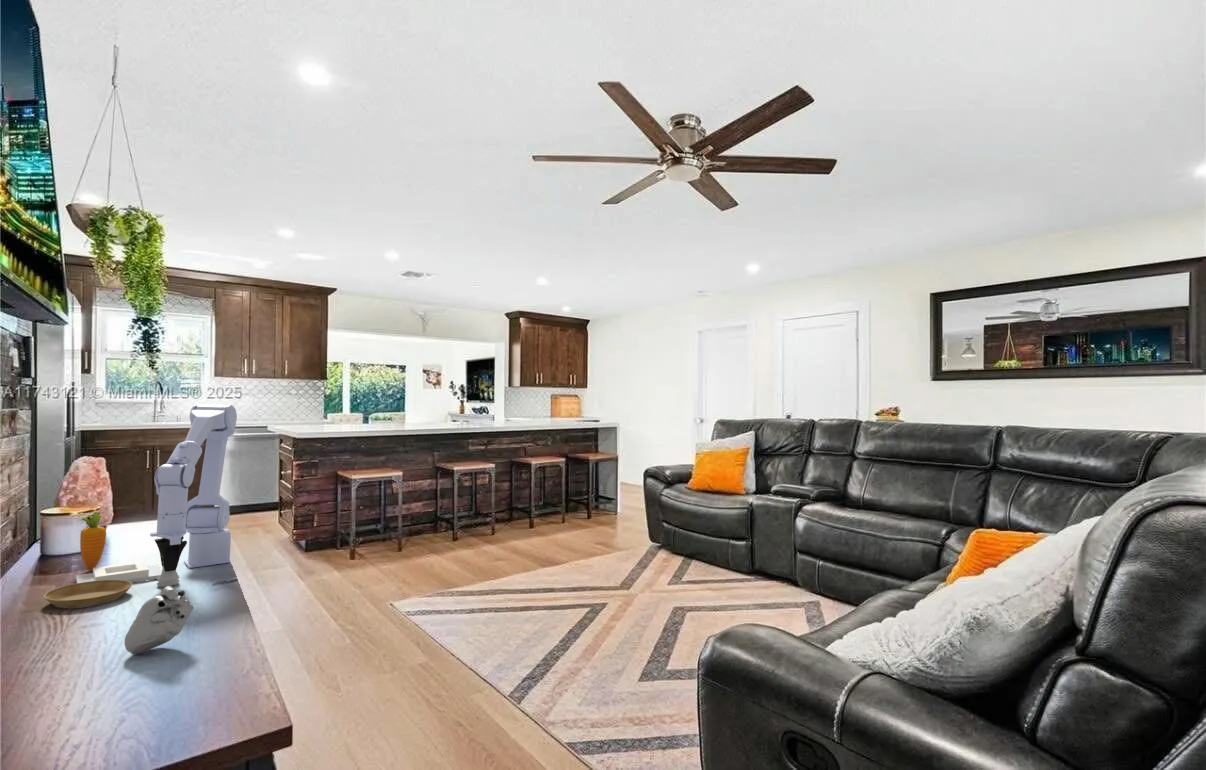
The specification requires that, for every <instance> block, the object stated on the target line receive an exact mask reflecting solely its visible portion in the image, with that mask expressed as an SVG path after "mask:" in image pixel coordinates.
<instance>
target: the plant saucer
mask: <svg viewBox="0 0 1206 770" xmlns="http://www.w3.org/2000/svg"><path fill="white" fill-rule="evenodd" d="M132 586H133V583H131V582H129V581H125V580H98V581H89V582H82V583H77V582H76V583H73V584H68V585H63V586H60V587H56V588H54V589H51V590H49V591H47V592H46V593H45V594H44V595H43V598H44V599H45V600H46V601H47V602H48V603H50V604H51V605H52V606H54V607H56V608H59V609H80V607H82V608H88V606H90V607H94V605H95V606H99V605H103V604H107V603H111V602H113V601H115V600H118V599H120V598H121V597H122V596H124V595H125V594H126V593H127V592H128V591H129V590H130V588H131V587H132Z"/></svg>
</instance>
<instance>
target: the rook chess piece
mask: <svg viewBox="0 0 1206 770" xmlns="http://www.w3.org/2000/svg"><path fill="white" fill-rule="evenodd" d="M162 558H163V557H162ZM162 563H163V562H162ZM161 570H162V573H161V575H160V577H159V578H158V579H157V580H156V581H158V582H157V583H156V585H157V587H160V588H165V587H168V586H171V587H174V586H176V585H178V584H179V583H180V580H179V579H180V575H179V574H178V572H177V569H176V570H175V571H168V572H165V570H164V565H163V567H162V569H161Z"/></svg>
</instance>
